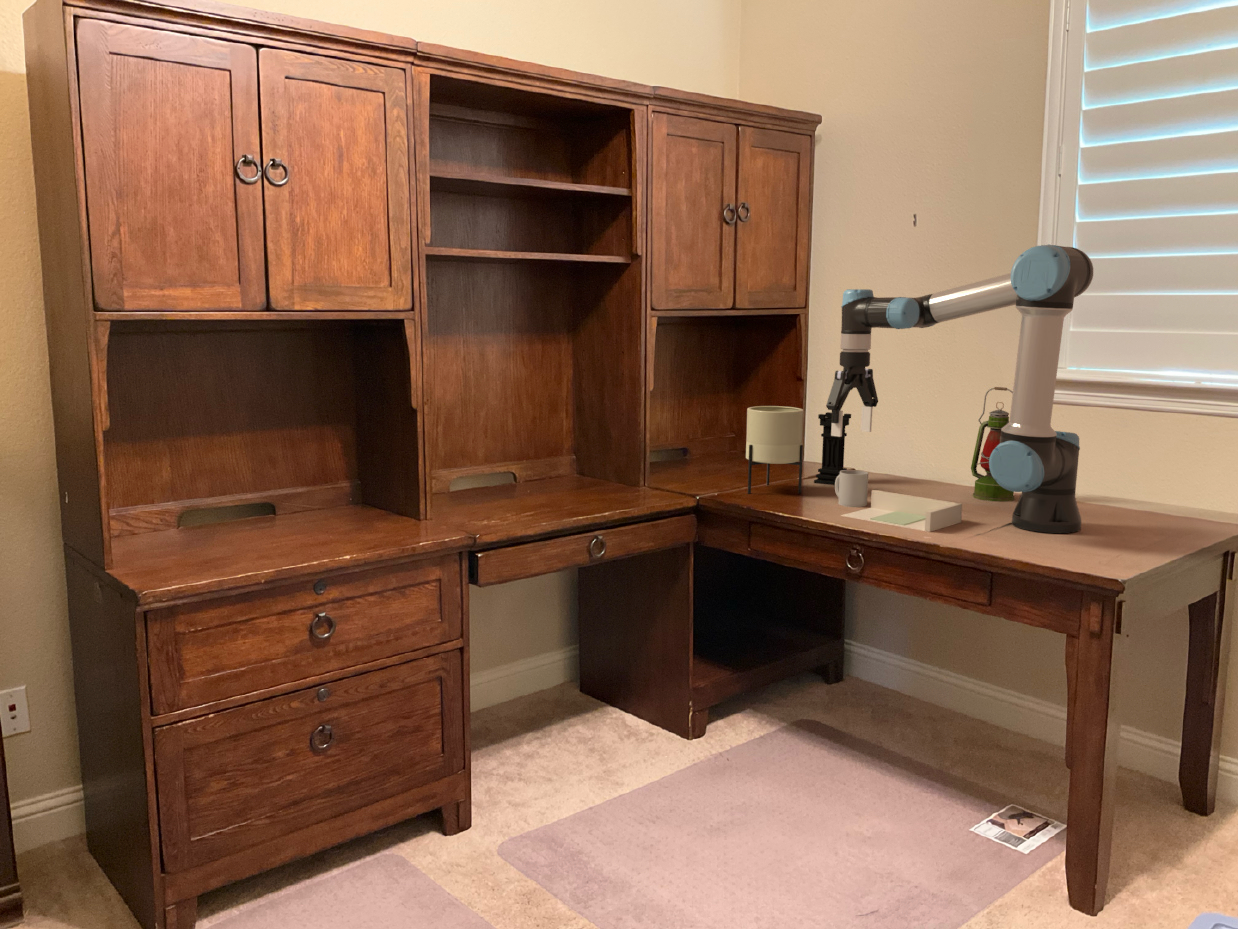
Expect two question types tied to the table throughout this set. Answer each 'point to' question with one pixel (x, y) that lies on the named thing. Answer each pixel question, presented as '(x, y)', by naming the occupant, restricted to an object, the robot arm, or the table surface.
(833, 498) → the table surface
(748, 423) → the planter
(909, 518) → the pad
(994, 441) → the lantern
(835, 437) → the chess piece
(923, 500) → the tray
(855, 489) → the cup
